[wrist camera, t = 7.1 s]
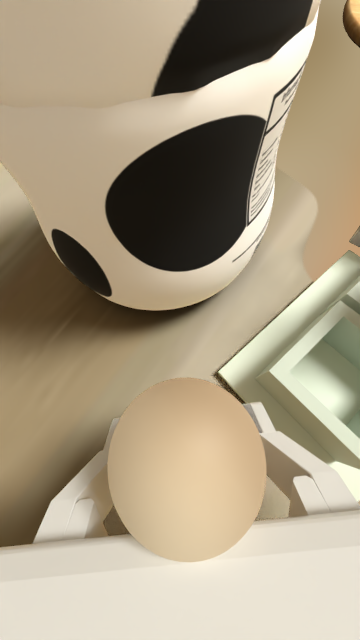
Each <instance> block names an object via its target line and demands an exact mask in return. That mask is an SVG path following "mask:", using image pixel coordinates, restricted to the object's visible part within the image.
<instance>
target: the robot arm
mask: <svg viewBox="0 0 360 640" xmlns="http://www.w3.org/2000/svg"><path fill="white" fill-rule="evenodd" d="M242 405H243V407H244V408H245V409H246V410H247V411H248V413H249V415H250V416H251V418H252V419H253V421H254V423H255V425H256V427H257V429H258V431H259V434H260V437H261V440H262V443H263V447H264V451H265V458H266V475H267V476H268V477H269V478H270V479H271V480H272V481H273V482H274V483H275V484H276V486H277V487H278V488H279V489H280V490H281V491H282V492H283V493H284V494H285V495H286V496H287V497H288V498H289V499H290V508H289V516H288V517H287V518H277V519H267V520H258V521H254V522H253V524H252V526H251V527H250V528H249V530H248V531H247V533H246V534H245V535H244V536H243V537H242V538H241V539H240V540H239V541H238V542H237V543H236V544H235V545H234V546H233V547H231V548H230V549H229V550H227V551H226V552H224V553H222V554H220V555H218V556H216V557H214V558H211V559H208V560H205V561H199V562H178V561H173V560H169V559H166V558H163V557H161V556H158V555H156V554H155V553H153V552H151V551H150V550H148V549H146V548H145V547H144V546H143V545H141V544H140V543H139V542H138V541H137V540H136V539H135V538H134V537H133V536H132V535H131V534H124V535H114V536H108V533H107V531H106V529H105V526H104V524H103V521H104V520H105V518H106V517H107V515H108V513H109V512H110V510H111V509H112V507H113V506H114V503H113V501H112V497H111V493H110V489H109V483H108V465H107V463H108V453H109V448H110V443H111V439H112V436H113V433H114V430H115V428H116V426H117V424H118V421H119V419H120V418H114V419H113V420H112V423H111V426H110V429H109V433H108V436H107V439H106V442H105V446H104V449H103V451H99V452H98V453H97V454H96V455H95V456H94V457H93V458H92V459H91V460H90V461H89V463H88V464H87V465H86V466H85V467H84V468H83V469H82V470H81V471H80V472H79V473H78V474H77V475H76V476H75V477H74V478H73V479H72V480H71V481H70V482H69V483H68V484H67V485H66V486H65V487H64V488H63V490H62V491H61V492H60V493H59V494H58V495H57V496H56V497H55V498H54V499H53V500H52V501H51V503H50V505H49V507H48V509H47V512H46V514H45V516H44V519H43V521H42V523H41V525H40V528H39V530H38V532H37V535H36V537H35V539H34V541H33V544H27V545H17V546H8V547H0V640H360V505H359V504H358V502H357V501H356V499H355V498H354V496H353V495H352V493H351V492H350V490H349V489H348V487H347V486H346V484H345V483H344V481H343V480H342V478H341V477H340V475H339V474H338V472H337V471H336V470H334V469H333V468H331V467H330V466H329V465H327V464H326V463H324V462H323V461H321V460H320V459H319V458H317V457H316V456H314V455H313V454H312V453H310V452H309V451H307V450H306V449H304V448H303V447H302V446H300V445H299V444H297V443H296V442H294V441H293V440H292V439H290V438H289V437H287V436H286V435H284V434H283V433H282V432H280V431H276V430H275V428H274V426H273V424H272V422H271V420H270V418H269V416H268V414H267V412H266V410H265V408H264V406H263V404H262V403H261V402H254V403H246V404H242Z"/></svg>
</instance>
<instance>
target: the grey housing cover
mask: <svg viewBox="0 0 360 640" xmlns="http://www.w3.org/2000/svg"><path fill="white" fill-rule="evenodd" d="M349 242H350V243H352V244H354V245H356V246H358V247H360V226H359V228H358V229H357V231H356V232H355V234H354V235H353V237H352V238H351V239H350V241H349Z"/></svg>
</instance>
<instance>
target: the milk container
mask: <svg viewBox="0 0 360 640" xmlns="http://www.w3.org/2000/svg"><path fill="white" fill-rule="evenodd" d="M320 2H321V0H0V162H1V163H2V164H3V166H4V167H5V168H6V169H7V170H8V172H9V173H10V174H11V175H12V177H13V178H14V179H15V181H16V182H17V183H18V185H19V186H20V187H21V189H22V190H23V192H24V193H25V195H26V196H27V198H28V200H29V202H30V204H31V206H32V208H33V210H34V212H35V215H36V217H37V219H38V222H39V224H40V226H41V229H42V231H43V233H44V235H45V237H46V239H47V241H48V243H49V245H50V246H51V248H52V250H53V251H54V253H55V254H56V255H57V257H58V258H59V259H60V261H61V262H62V263H63V264H64V265H65V267H66V268H67V269H68V270H69V271H70V272H71V273H72V274H73V275H74V276H75V277H76V278H77V279H79V280H80V281H81V282H82V283H83V284H85V285H86V286H87V287H89V288H90V289H92V290H93V291H95V292H96V293H98V294H99V295H101V296H103V297H105V298H106V299H108V300H110V301H112V302H115V303H117V304H120V305H123V306H126V307H130V308H135V309H141V310H170V309H176V308H181V307H185V306H189V305H192V304H195V303H198V302H200V301H203V300H205V299H207V298H209V297H211V296H213V295H215V294H216V293H218V292H219V291H221V290H222V289H224V288H225V287H226V286H227V285H229V284H230V283H231V282H232V281H233V280H234V279H235V278H236V277H237V276H238V275H239V274H240V272H241V271H242V270H243V269H244V267H245V266H246V265H247V263H248V262H249V260H250V259H251V258H252V256H253V254H254V253H255V251H256V249H257V248H258V246H259V244H260V242H261V240H262V238H263V235H264V233H265V230H266V228H267V225H268V222H269V218H270V214H271V210H272V205H273V197H274V183H275V164H276V155H277V150H278V146H279V141H280V138H281V135H282V131H283V128H284V125H285V121H286V118H287V115H288V112H289V110H290V107H291V104H292V101H293V98H294V95H295V92H296V89H297V86H298V84H299V80H300V78H301V75H302V72H303V69H304V66H305V63H306V60H307V57H308V54H309V51H310V48H311V45H312V42H313V39H314V35H315V29H316V22H317V15H318V10H319V5H320Z"/></svg>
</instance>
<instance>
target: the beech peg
mask: <svg viewBox="0 0 360 640" xmlns="http://www.w3.org/2000/svg"><path fill="white" fill-rule="evenodd" d="M107 465H108V483H109V489H110V493H111V497H112V501H113V503H114V506H115V509H116V511H117V513H118V515H119V517H120V519H121V521H122V523H123V524H124V525H125V527H126V528H127V530H128V531H129V533H130V534H131V535H132V536H133V537H134V538H135V539H136V540H137V541H138V542H139V543H140V544H141V545H143V546H144V547H145V548H146V549H148V550H150V551H151V552H153V553H155V554H156V555H158V556H161V557H163V558H166V559H169V560H173V561H178V562H199V561H205V560H208V559H211V558H214V557H216V556H218V555H220V554H222V553H224V552H226V551H227V550H229V549H230V548H231V547H233V546H234V545H235V544H236V543H237V542H238V541H239V540H240V539H241V538H242V537H243V536H244V535H245V534H246V533H247V531H248V530H249V528H250V527H251V526H252V524H253V522H254V520H255V518H256V517H257V515H258V512H259V509H260V507H261V504H262V501H263V497H264V492H265V486H266V458H265V451H264V447H263V443H262V440H261V437H260V434H259V431H258V429H257V427H256V425H255V423H254V421H253V419H252V418H251V416H250V415H249V413H248V411H247V410H246V409H245V408H244V407H243V405H242V404H241V403H240V402H239V401H238V400H237V399H236V398H235V397H234V396H233V395H231V394H230V393H229V392H227V391H226V390H225V389H223V388H221V387H219V386H218V385H215V384H213V383H211V382H208V381H205V380H201V379H196V378H175V379H170V380H166V381H163V382H160V383H158V384H155V385H153V386H152V387H150V388H148V389H147V390H145V391H144V392H142V393H141V394H140V395H139V396H137V397H136V398H135V399H134V400H133V401H132V402H131V404H130V405H129V406H128V407H127V409H126V410H125V411H124V413H123V415H122V416H121V418H120V419H119V421H118V424H117V426H116V428H115V430H114V433H113V436H112V439H111V443H110V448H109V453H108V463H107Z"/></svg>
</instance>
